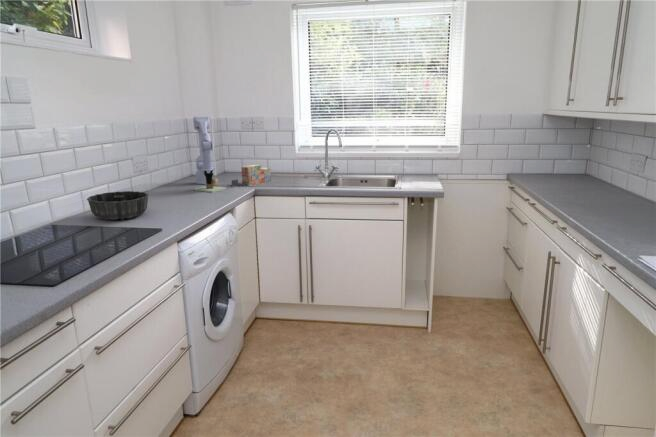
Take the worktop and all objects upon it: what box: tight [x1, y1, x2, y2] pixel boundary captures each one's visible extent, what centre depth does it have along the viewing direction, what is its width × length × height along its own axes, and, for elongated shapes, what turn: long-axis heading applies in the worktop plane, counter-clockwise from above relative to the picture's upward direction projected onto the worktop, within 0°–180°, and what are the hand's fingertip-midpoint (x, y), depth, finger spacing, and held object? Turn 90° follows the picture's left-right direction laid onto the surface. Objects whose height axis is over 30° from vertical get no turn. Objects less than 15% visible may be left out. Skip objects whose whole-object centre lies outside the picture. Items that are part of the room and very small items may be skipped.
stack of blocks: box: [241, 164, 272, 186], centre depth 295 cm, size 21×6×12 cm, turn 145°
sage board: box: [192, 185, 227, 193], centre depth 272 cm, size 16×12×1 cm
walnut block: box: [205, 178, 214, 189], centre depth 271 cm, size 4×4×6 cm
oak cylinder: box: [212, 178, 219, 187], centre depth 282 cm, size 4×4×5 cm
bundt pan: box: [86, 190, 150, 221], centre depth 207 cm, size 26×26×10 cm
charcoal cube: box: [230, 178, 239, 187], centre depth 285 cm, size 4×4×4 cm
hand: (209, 183), depth 271 cm, fingers open, 7 cm apart
